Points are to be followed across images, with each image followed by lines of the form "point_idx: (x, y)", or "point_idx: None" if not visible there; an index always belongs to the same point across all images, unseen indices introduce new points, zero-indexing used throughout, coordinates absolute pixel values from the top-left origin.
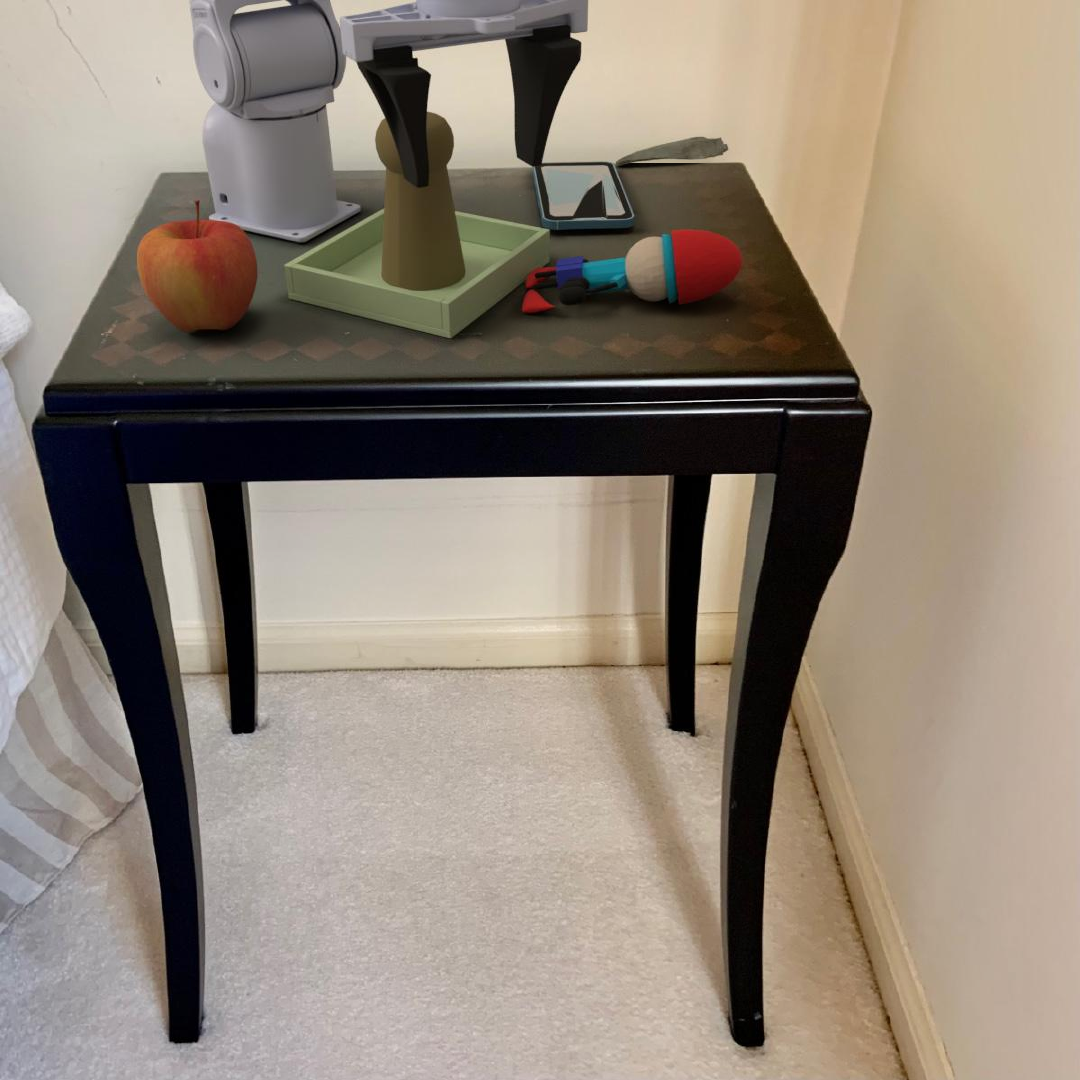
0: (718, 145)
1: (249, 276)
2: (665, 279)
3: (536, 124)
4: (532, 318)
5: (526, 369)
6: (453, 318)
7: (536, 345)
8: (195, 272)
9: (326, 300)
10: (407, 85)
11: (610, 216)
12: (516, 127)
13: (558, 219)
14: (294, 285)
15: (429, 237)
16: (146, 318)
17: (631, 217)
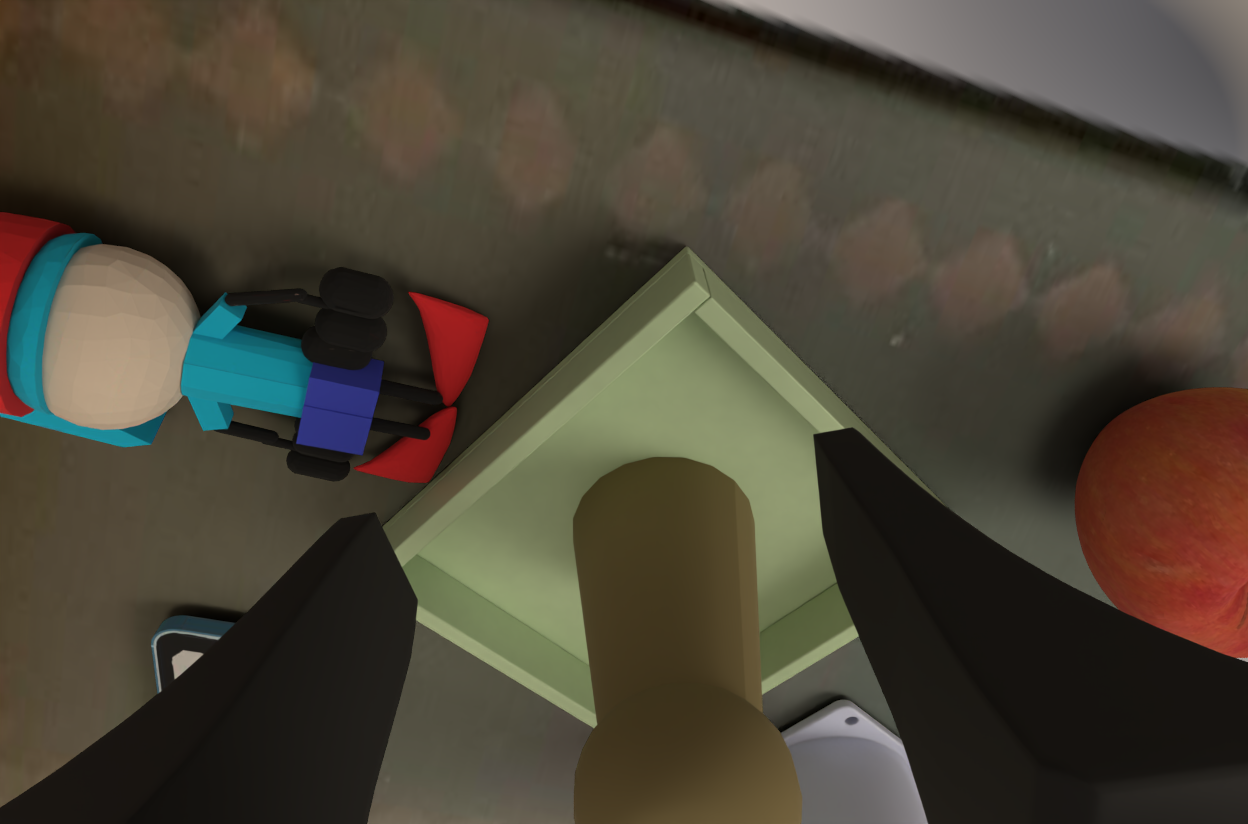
0: None
1: (1150, 460)
2: (76, 253)
3: (306, 625)
4: (469, 293)
5: (545, 24)
6: (678, 272)
7: (489, 152)
8: None
9: (900, 465)
10: (1197, 705)
11: (207, 649)
12: (392, 691)
13: None
14: None
15: (670, 546)
16: None
17: (159, 636)
